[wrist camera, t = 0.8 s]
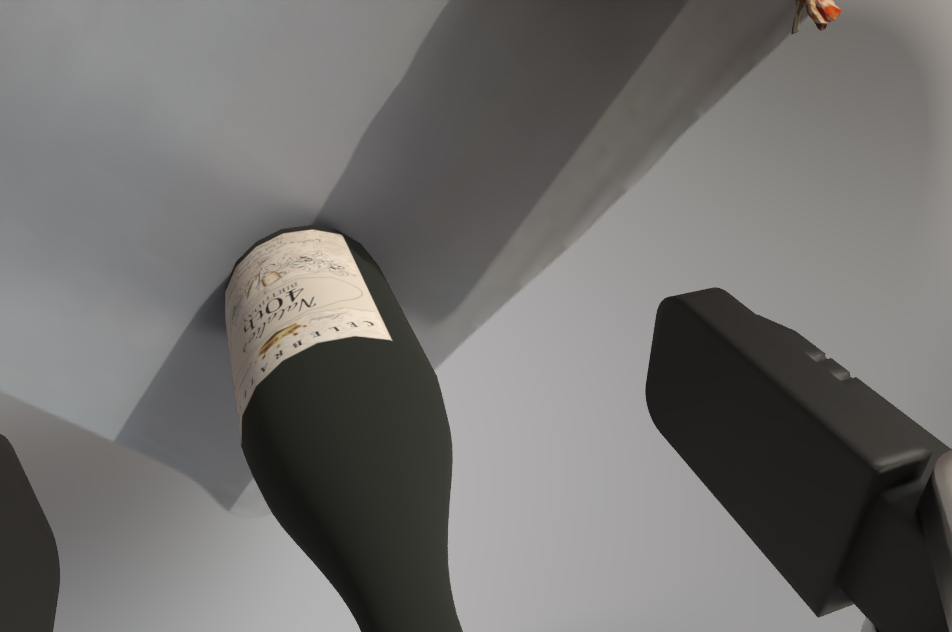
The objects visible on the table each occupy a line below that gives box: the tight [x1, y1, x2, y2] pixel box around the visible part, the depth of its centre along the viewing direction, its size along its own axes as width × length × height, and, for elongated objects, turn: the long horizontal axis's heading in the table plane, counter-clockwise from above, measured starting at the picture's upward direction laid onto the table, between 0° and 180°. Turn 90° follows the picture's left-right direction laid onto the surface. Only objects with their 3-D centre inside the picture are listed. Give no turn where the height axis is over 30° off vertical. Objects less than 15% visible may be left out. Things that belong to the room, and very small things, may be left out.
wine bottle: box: [225, 225, 463, 632], centre depth 26 cm, size 8×8×30 cm
